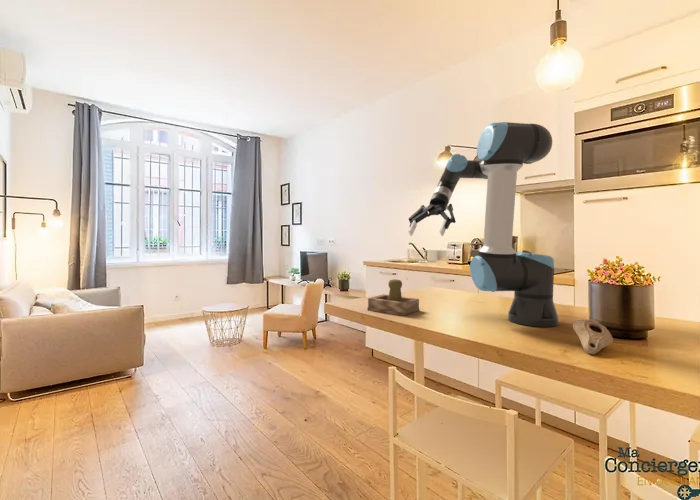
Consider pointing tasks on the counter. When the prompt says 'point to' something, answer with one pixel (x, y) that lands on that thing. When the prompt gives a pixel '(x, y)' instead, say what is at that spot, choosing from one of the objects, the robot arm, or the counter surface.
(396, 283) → the cork
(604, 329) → the pottery oil lamp
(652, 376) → the counter surface
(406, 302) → the brown tray
